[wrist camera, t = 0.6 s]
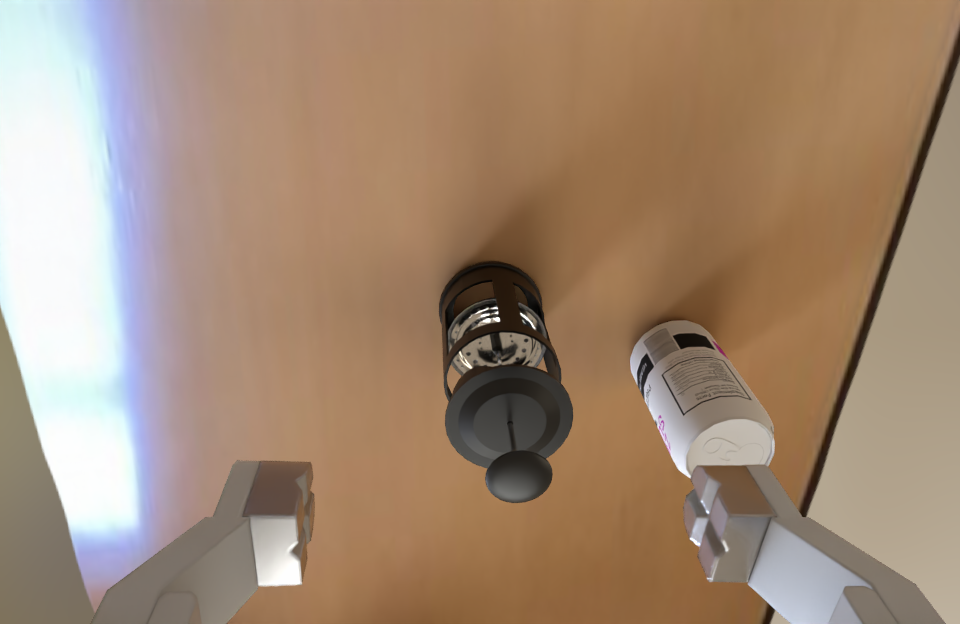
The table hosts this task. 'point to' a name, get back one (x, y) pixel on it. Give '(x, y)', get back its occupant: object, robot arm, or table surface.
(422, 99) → the table surface
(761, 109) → the table surface
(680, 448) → the supplement can
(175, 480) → the table surface
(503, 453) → the french press
